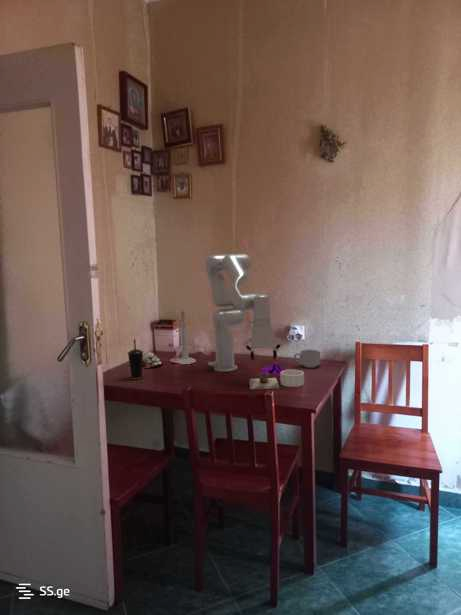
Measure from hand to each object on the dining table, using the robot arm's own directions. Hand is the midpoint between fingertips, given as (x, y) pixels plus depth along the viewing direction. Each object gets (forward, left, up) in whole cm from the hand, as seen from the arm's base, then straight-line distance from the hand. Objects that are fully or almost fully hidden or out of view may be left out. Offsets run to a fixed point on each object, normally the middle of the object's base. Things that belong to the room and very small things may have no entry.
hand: (263, 359), depth 210 cm
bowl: (+13, +1, -13) cm, 18 cm away
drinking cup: (-63, +20, -13) cm, 67 cm away
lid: (0, +1, -12) cm, 12 cm away
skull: (-60, +44, -13) cm, 76 cm away
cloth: (+6, +21, -14) cm, 25 cm away
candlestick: (-42, +49, -13) cm, 65 cm away
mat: (0, +1, -13) cm, 13 cm away
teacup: (+24, +33, -13) cm, 43 cm away
